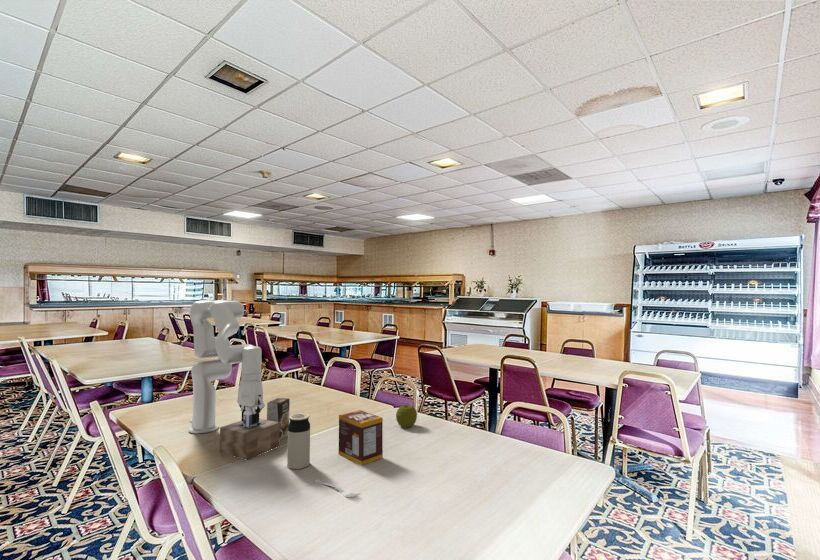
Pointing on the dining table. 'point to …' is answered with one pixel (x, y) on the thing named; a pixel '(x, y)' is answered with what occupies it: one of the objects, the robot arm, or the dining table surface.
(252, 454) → the brown box with opening
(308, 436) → the travel mug
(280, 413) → the coffee box
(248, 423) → the pill bottle
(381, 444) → the supplement box
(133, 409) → the dining table surface
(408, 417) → the apple
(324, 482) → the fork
